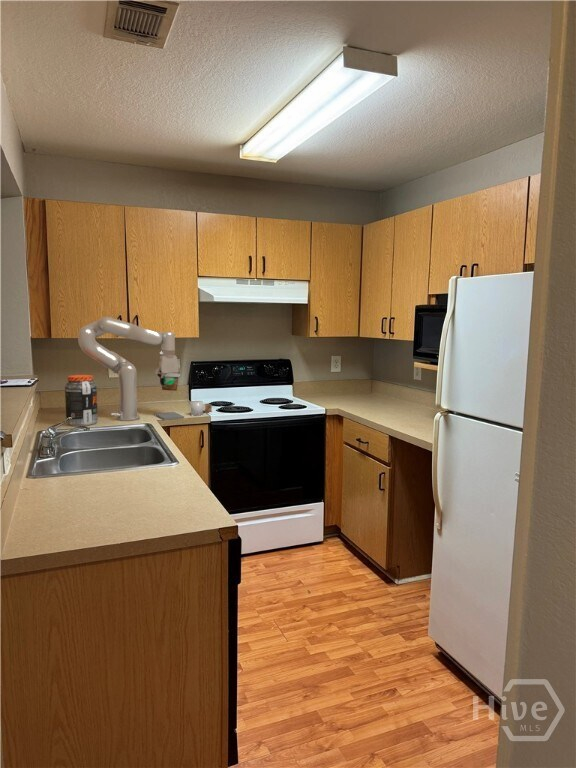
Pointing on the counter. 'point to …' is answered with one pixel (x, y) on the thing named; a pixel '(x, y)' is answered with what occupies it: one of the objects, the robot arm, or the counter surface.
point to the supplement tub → (81, 400)
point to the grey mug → (197, 408)
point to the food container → (170, 381)
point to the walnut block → (208, 408)
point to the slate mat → (169, 415)
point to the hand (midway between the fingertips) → (168, 384)
